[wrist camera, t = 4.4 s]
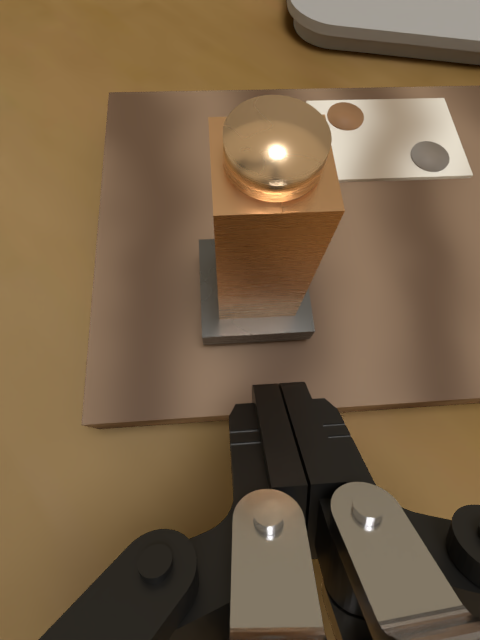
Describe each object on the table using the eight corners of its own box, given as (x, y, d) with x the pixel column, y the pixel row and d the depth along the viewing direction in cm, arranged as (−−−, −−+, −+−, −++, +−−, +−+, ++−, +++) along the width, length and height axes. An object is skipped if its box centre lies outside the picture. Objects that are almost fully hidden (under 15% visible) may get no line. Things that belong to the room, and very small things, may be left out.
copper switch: (203, 345, 15) (177, 220, 7) (200, 251, 16) (175, 66, 9) (309, 339, 15) (396, 213, 7) (296, 247, 17) (357, 63, 9)
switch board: (98, 428, 16) (78, 424, 14) (118, 123, 22) (107, 87, 20) (732, 385, 17) (803, 375, 15) (582, 112, 24) (617, 78, 22)
